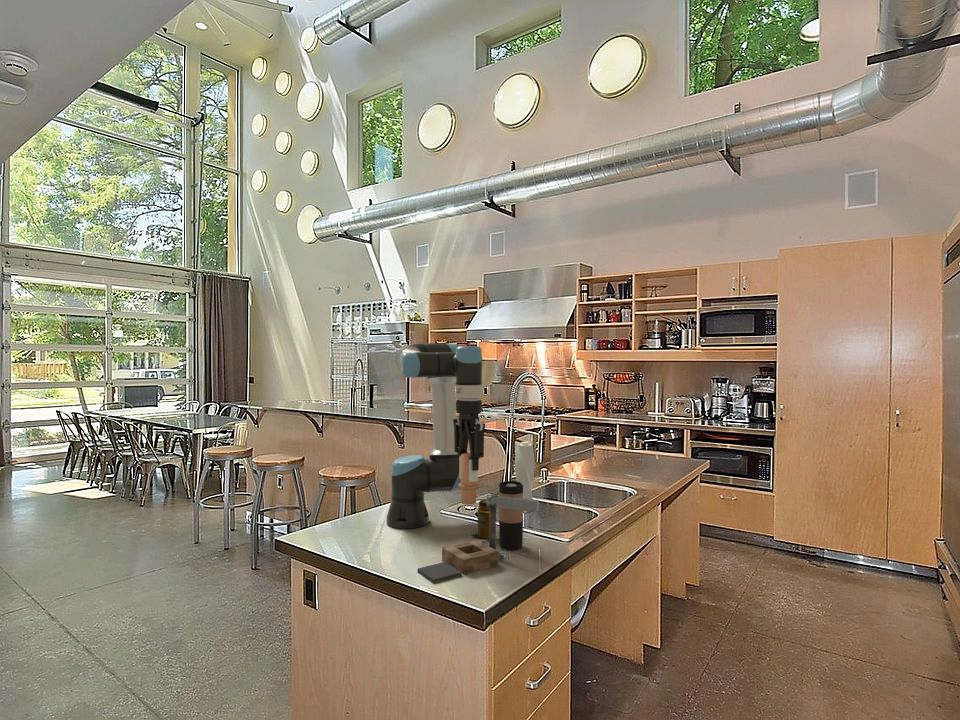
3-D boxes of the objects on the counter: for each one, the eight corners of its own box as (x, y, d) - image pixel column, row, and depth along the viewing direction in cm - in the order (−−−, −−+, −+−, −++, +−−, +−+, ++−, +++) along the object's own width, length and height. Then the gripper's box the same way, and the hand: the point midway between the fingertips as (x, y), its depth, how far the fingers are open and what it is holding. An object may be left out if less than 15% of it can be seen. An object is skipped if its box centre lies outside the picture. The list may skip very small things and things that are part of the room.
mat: (417, 572, 161) (417, 568, 161) (445, 565, 166) (445, 561, 166) (433, 583, 153) (433, 579, 153) (461, 575, 158) (461, 572, 158)
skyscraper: (540, 510, 219) (540, 438, 219) (526, 515, 214) (526, 440, 213) (523, 506, 226) (524, 435, 225) (509, 510, 220) (510, 437, 219)
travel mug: (494, 547, 180) (494, 484, 179) (506, 540, 186) (507, 479, 186) (515, 552, 176) (515, 488, 175) (527, 545, 182) (527, 483, 181)
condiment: (501, 538, 189) (501, 502, 189) (479, 542, 184) (479, 506, 184) (488, 532, 195) (488, 497, 195) (467, 536, 190) (467, 500, 190)
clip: (535, 512, 165) (536, 502, 164) (484, 506, 170) (484, 496, 170) (539, 509, 168) (539, 499, 168) (489, 503, 174) (489, 493, 174)
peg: (454, 501, 167) (454, 453, 167) (471, 498, 171) (471, 451, 170) (465, 506, 162) (465, 457, 162) (483, 503, 166) (483, 454, 165)
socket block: (442, 560, 169) (442, 509, 169) (487, 549, 178) (488, 500, 178) (463, 574, 159) (463, 519, 159) (511, 561, 168) (511, 510, 168)
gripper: (442, 397, 171) (442, 475, 171) (475, 402, 156) (474, 487, 157) (463, 396, 175) (463, 472, 176) (497, 401, 160) (496, 483, 161)
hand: (468, 479), depth 166 cm, fingers closed on peg, 4 cm apart
